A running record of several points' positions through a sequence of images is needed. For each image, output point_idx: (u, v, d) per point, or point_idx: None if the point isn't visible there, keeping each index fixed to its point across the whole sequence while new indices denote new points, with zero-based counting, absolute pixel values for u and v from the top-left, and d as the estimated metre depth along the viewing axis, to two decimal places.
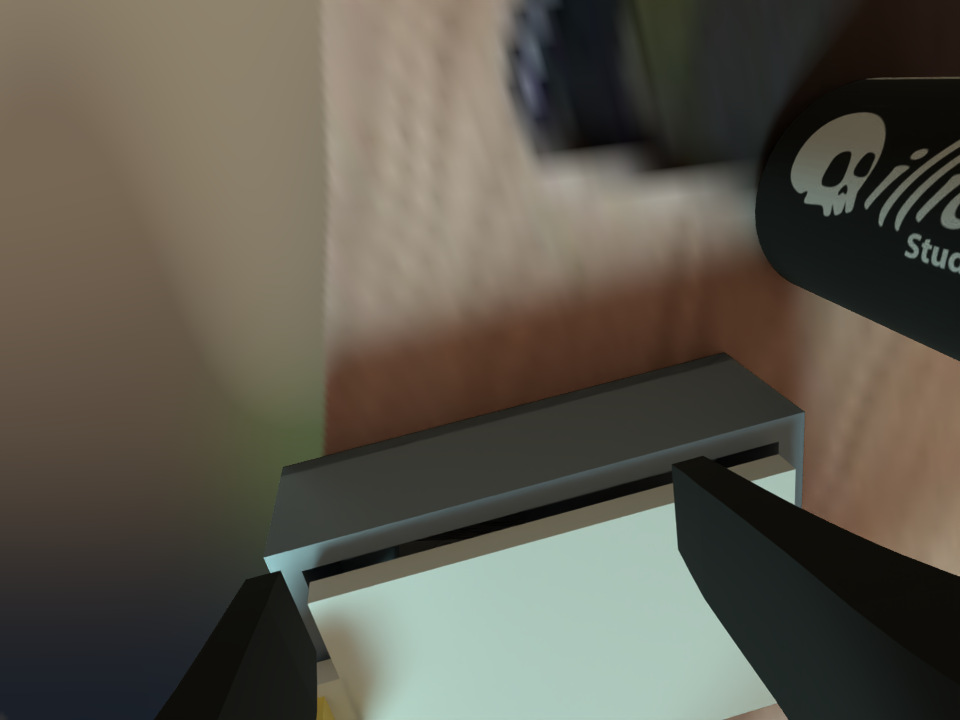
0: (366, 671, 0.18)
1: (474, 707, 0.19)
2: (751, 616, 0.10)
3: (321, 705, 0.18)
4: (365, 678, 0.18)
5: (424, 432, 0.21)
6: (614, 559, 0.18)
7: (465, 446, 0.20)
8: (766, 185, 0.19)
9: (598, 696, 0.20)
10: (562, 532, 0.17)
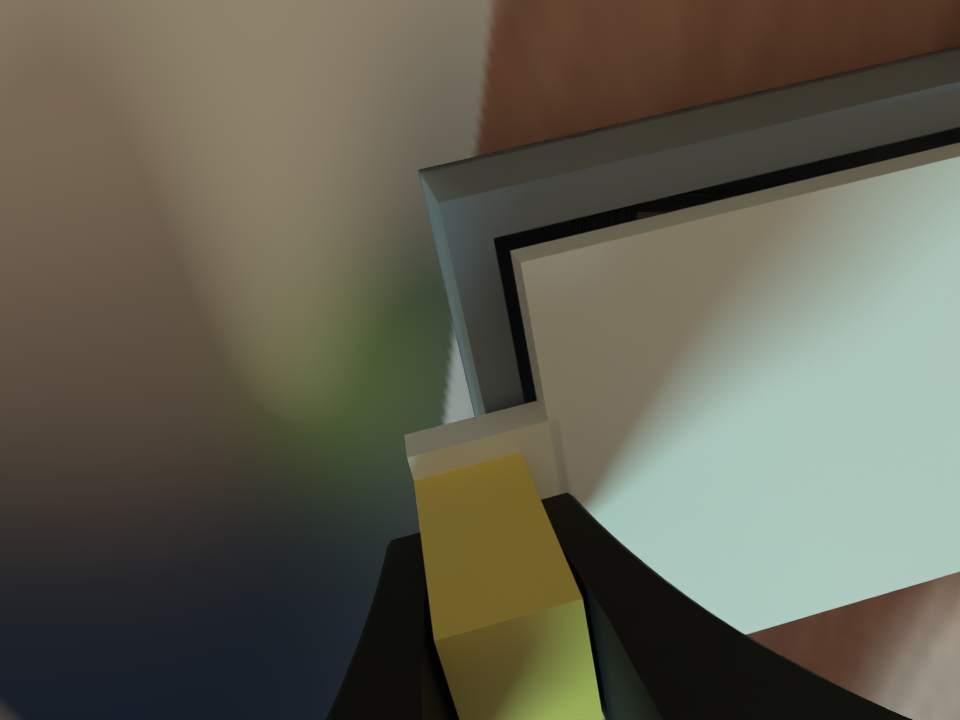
0: (589, 410, 0.11)
1: (730, 494, 0.13)
2: (594, 662, 0.09)
3: (521, 461, 0.11)
4: (585, 424, 0.11)
5: (621, 124, 0.15)
6: None
7: (702, 115, 0.13)
8: None
9: (901, 489, 0.13)
10: (924, 166, 0.11)
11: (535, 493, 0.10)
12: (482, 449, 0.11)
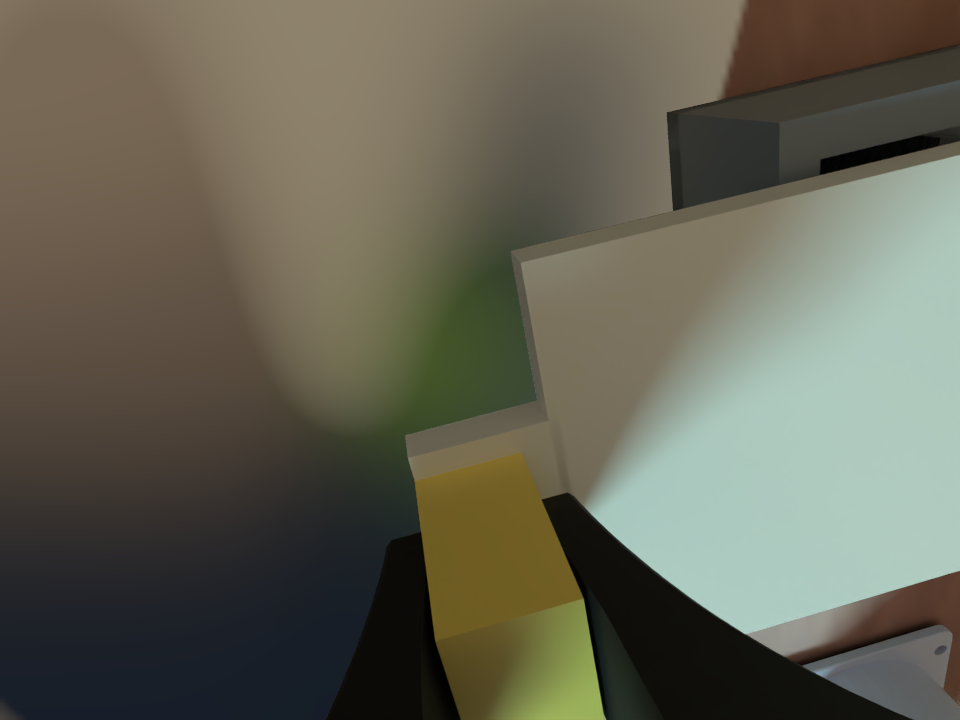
0: (589, 410, 0.11)
1: (731, 493, 0.13)
2: None
3: (522, 461, 0.11)
4: (586, 424, 0.11)
5: (861, 68, 0.15)
6: None
7: None
8: None
9: (902, 488, 0.13)
10: (924, 165, 0.11)
11: (536, 493, 0.10)
12: (483, 449, 0.11)
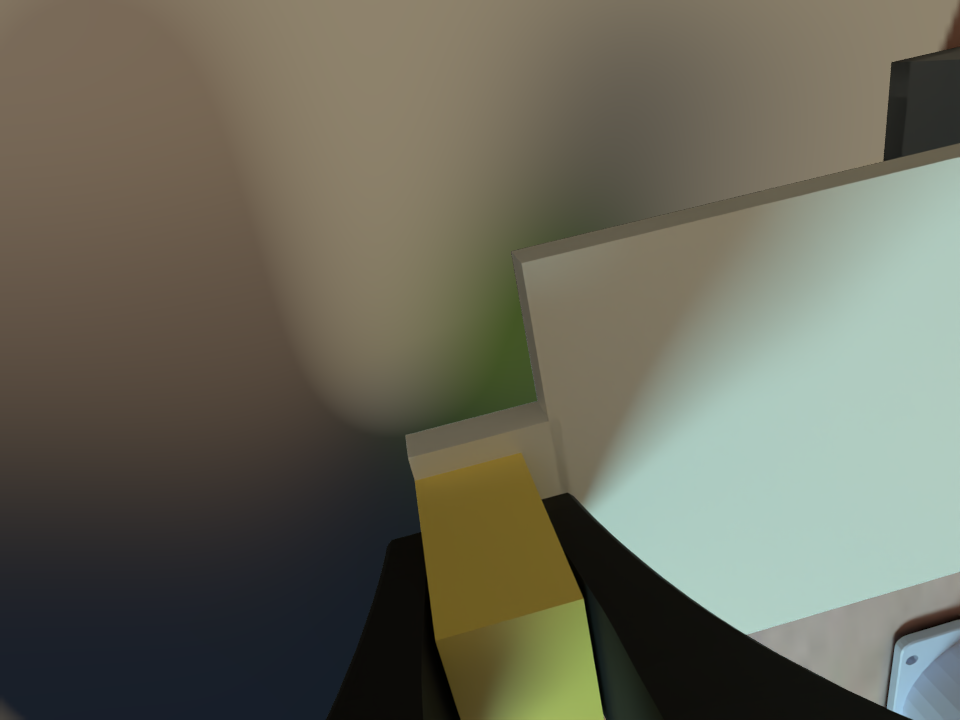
0: (590, 411, 0.11)
1: (730, 494, 0.13)
2: (595, 662, 0.09)
3: (522, 462, 0.11)
4: (586, 424, 0.11)
5: None
6: None
7: None
8: None
9: (902, 489, 0.13)
10: (924, 166, 0.11)
11: (536, 493, 0.10)
12: (483, 449, 0.11)
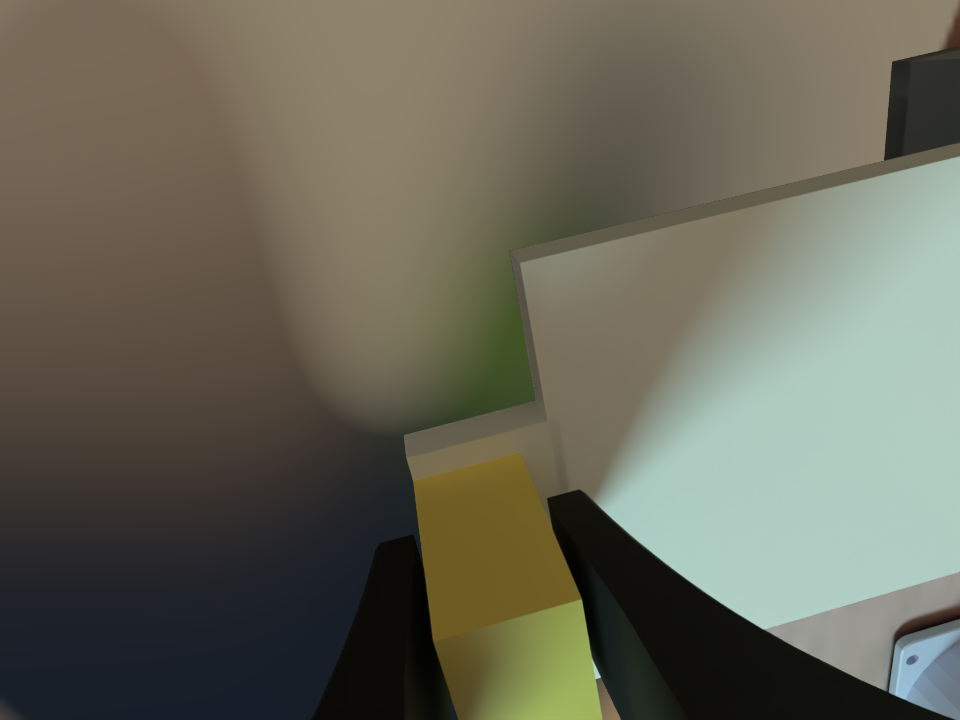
0: (588, 411, 0.11)
1: (729, 494, 0.13)
2: (608, 658, 0.09)
3: (520, 461, 0.11)
4: (585, 424, 0.11)
5: None
6: None
7: None
8: None
9: (901, 490, 0.13)
10: (924, 166, 0.11)
11: (534, 493, 0.10)
12: (481, 449, 0.11)
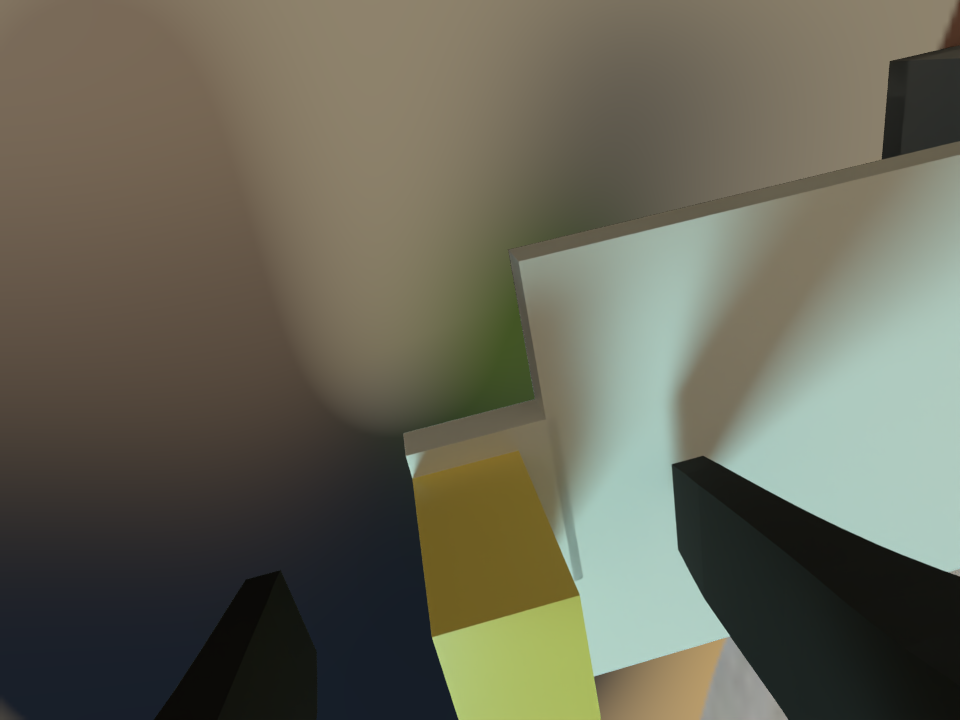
0: (587, 409, 0.11)
1: None
2: (751, 616, 0.10)
3: (519, 459, 0.11)
4: (583, 422, 0.11)
5: None
6: None
7: None
8: None
9: (898, 488, 0.13)
10: (920, 165, 0.11)
11: (533, 491, 0.10)
12: (480, 447, 0.11)
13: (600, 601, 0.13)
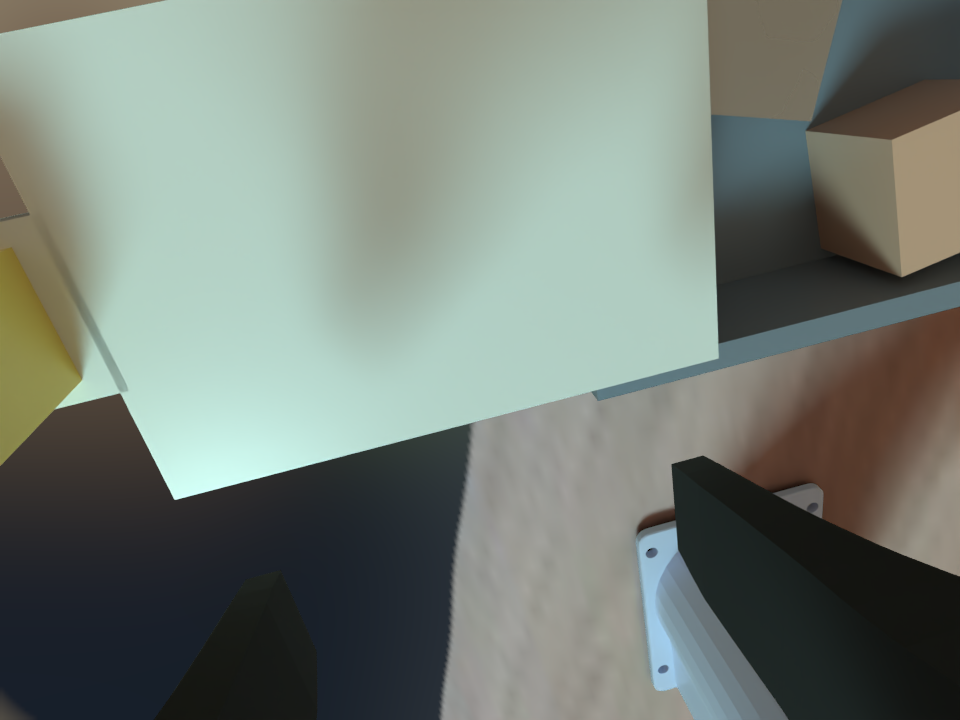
0: (71, 206, 0.12)
1: (255, 305, 0.14)
2: (752, 617, 0.10)
3: (0, 251, 0.12)
4: (72, 221, 0.12)
5: None
6: (436, 35, 0.12)
7: None
8: None
9: (442, 312, 0.14)
10: None
11: None
12: None
13: (156, 416, 0.14)
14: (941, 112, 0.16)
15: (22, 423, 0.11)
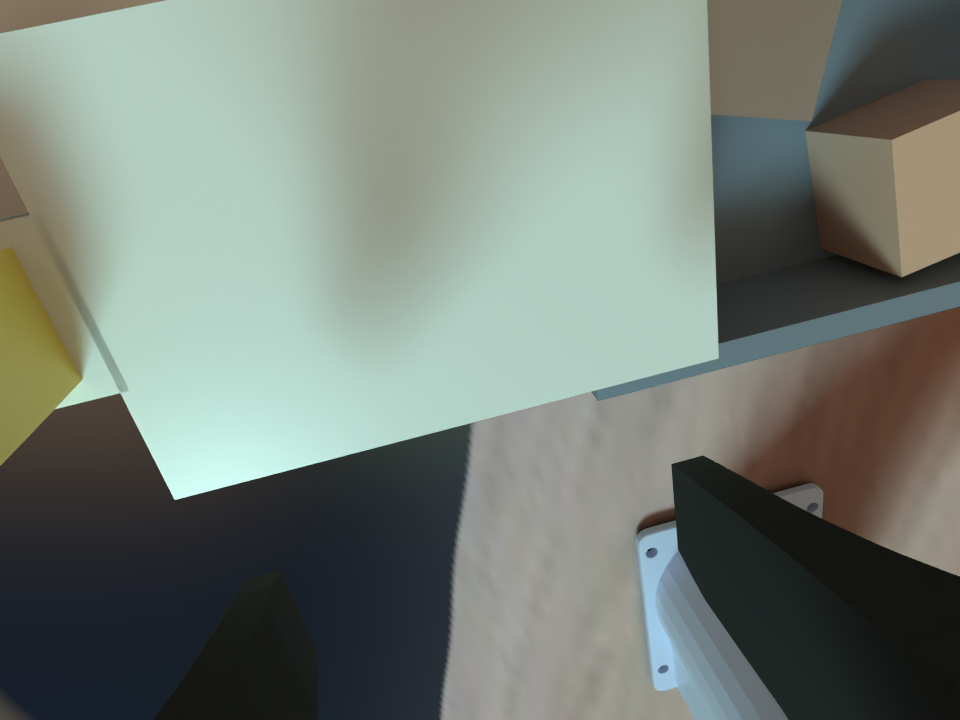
0: (71, 206, 0.12)
1: (255, 305, 0.14)
2: (752, 617, 0.10)
3: (0, 251, 0.12)
4: (72, 221, 0.12)
5: None
6: (436, 35, 0.12)
7: None
8: None
9: (442, 312, 0.14)
10: None
11: None
12: None
13: (156, 416, 0.14)
14: (941, 112, 0.16)
15: (22, 423, 0.11)
